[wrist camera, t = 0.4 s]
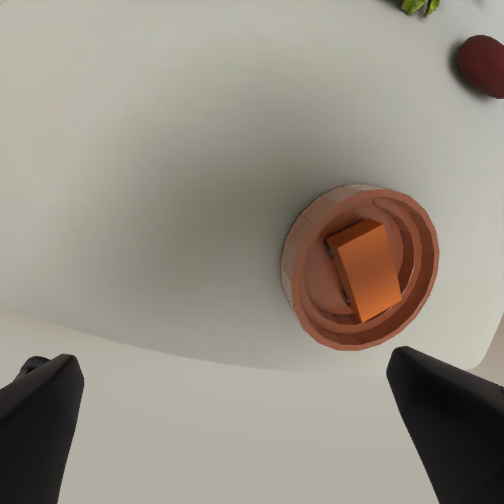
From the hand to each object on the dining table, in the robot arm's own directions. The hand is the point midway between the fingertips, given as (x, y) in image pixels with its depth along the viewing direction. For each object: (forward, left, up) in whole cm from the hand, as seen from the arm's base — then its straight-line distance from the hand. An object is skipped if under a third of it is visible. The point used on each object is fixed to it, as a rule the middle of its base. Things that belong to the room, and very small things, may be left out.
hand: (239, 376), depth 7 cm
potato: (+5, -32, -16) cm, 36 cm away
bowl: (-7, -9, -16) cm, 20 cm away
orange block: (-7, -9, -15) cm, 19 cm away
